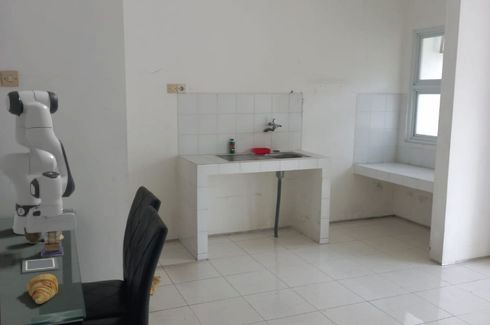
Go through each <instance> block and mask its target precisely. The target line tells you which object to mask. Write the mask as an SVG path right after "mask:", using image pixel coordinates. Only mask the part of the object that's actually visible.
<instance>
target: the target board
mask: <svg viewBox="0 0 490 325" xmlns="http://www.w3.org/2000/svg"><path fill="white" fill-rule="evenodd" d="M21 264H22V268H21V273H22V274H29V273H30V274H31V273H32V274H33V273H42V272H50V271H58V270H59V263H58V256H52V257H42V258H36V259H23V260H22V263H21Z"/></svg>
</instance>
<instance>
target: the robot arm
mask: <svg viewBox="0 0 490 325" xmlns="http://www.w3.org/2000/svg"><path fill="white" fill-rule="evenodd" d="M4 103H5V107H6V110H7V112H9V113H10V114H12V115H15V118H14V120H15V123H14V124H15V125H14V126H15V128H14V129H15V130H14V132H15V141H16V143H17V144H19V145H20V146H22V147H24V148H27V149H28V150H29V152H11V153H6V154H3V155H1V157H0V173H1V174H2V175H4V176H5V177H7V179H8V180H10V181H11V183H12V184H13V186H14V190H15V197H16V198H15V199H16V203H15V206H14V208H15V211H16V212H15V213H14V217H13V218H14V220H13V226H12V228H11V229H12V230H13V232H12V233H15V234H17V235H25V232H24V227H25V228H26V232H27V233H38V232H41V236H42V237H43V240H44V243H45V242H48V237H46V236H47V235H46V233H48V232H51V231H59V234H58V236H56V241H59V242H60V241H61V240H60V236H61V235H63V231H75V230H76V229H77V228H78V227H77V226H78V224H77V219H76V218H78V211H77V210H76V209H74V208H63V205H64V204H63V200H62V198H69V197H70V196H71V195H73V193H74V192H75V189H76V184H75V181H74V177H73V175H72V173H71V169H70V165H69V161H68V157H67V153H66V150H65V147H64V144H63V142H62V140H60V139H58V138H57V136H56V135H55V132H54V126H53V119H52V115H53V114H55V113H56V112H57V111H58V108H59V104H60V103H59V99H58V96H57V94H56V93H55V92H53V91H49V90H48V91H47V90H46V91H43V90H34V89H33V90H21V91H18V90H13V91H12V90H11V91H9V92H8V93H7V94H6V98H5V102H4ZM56 168H57V169H58V170H57V171H58V172H57V171H55V170H56ZM37 175H40V176H39V177H34V178H33V179H32V180H29V179H28V176H37Z"/></svg>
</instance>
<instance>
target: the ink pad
mask: <svg viewBox="0 0 490 325" xmlns="http://www.w3.org/2000/svg"><path fill="white" fill-rule="evenodd" d="M60 256H65V253H64V248H63V246H62V245H59V251H55V252H45V246H42V248H40V258H41V257H42V258H53V257H60Z"/></svg>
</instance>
